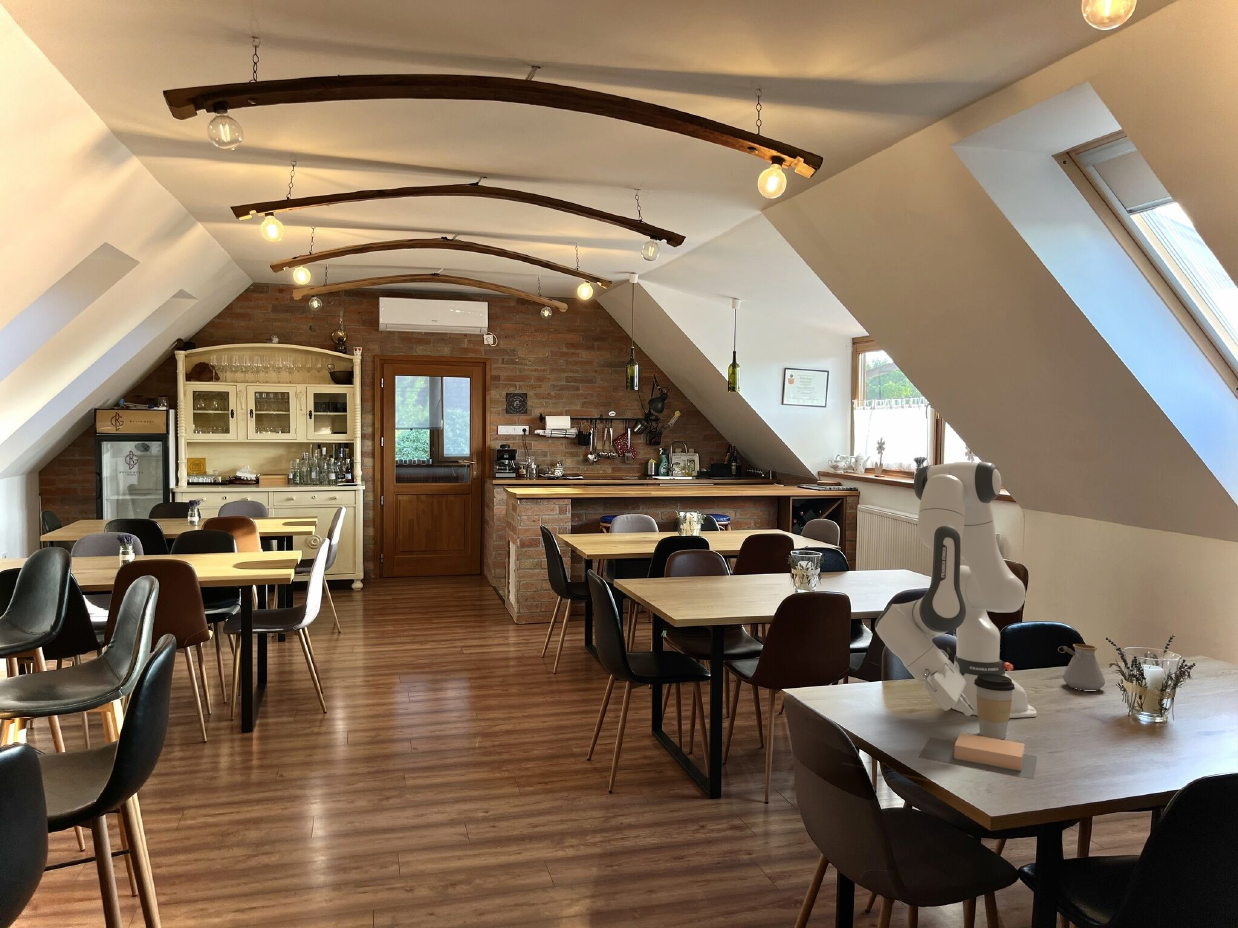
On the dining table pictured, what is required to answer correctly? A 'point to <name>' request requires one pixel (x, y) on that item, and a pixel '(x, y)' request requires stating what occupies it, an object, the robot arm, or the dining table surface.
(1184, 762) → the dining table surface
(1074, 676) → the coffee pot
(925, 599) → the robot arm
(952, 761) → the mat
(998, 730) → the coffee cup
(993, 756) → the block
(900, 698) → the dining table surface
